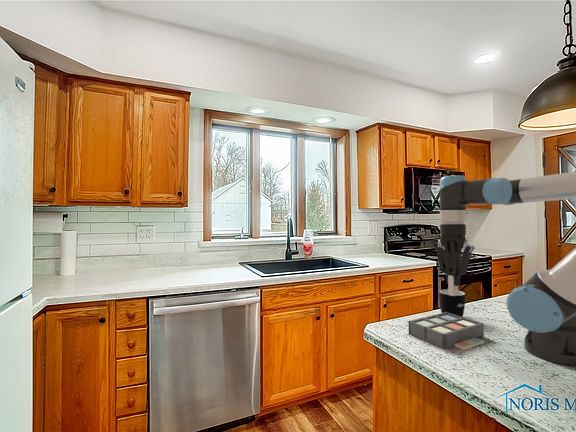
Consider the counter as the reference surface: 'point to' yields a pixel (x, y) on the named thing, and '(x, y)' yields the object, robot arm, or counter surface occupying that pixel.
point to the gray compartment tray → (456, 338)
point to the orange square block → (454, 326)
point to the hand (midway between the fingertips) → (453, 294)
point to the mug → (452, 303)
